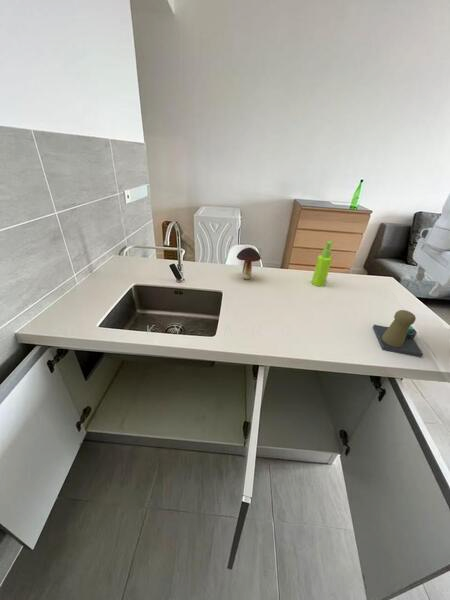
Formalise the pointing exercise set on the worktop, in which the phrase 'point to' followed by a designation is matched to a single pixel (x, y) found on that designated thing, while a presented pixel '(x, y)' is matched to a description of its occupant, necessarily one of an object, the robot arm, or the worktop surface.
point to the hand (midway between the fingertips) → (424, 287)
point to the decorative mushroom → (248, 260)
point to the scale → (408, 345)
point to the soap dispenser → (322, 266)
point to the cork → (398, 328)
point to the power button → (410, 329)
